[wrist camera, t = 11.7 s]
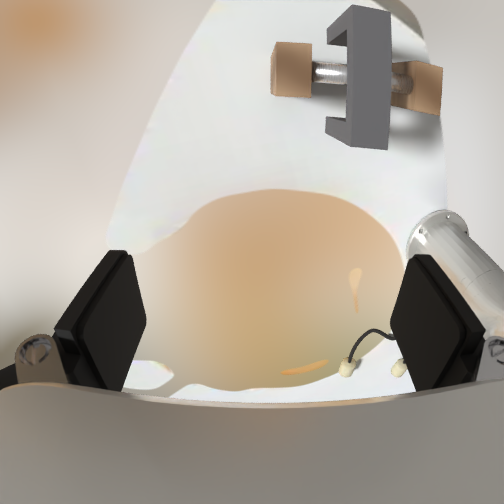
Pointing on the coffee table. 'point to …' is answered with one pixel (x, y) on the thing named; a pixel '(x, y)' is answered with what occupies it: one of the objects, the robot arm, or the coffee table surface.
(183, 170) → the coffee table surface
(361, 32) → the grey channel bracket
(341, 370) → the cable
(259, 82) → the coffee table surface
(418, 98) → the hook stand
